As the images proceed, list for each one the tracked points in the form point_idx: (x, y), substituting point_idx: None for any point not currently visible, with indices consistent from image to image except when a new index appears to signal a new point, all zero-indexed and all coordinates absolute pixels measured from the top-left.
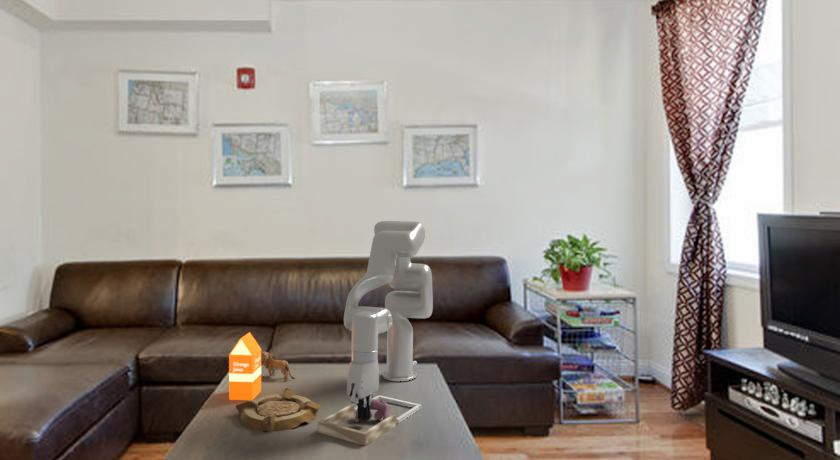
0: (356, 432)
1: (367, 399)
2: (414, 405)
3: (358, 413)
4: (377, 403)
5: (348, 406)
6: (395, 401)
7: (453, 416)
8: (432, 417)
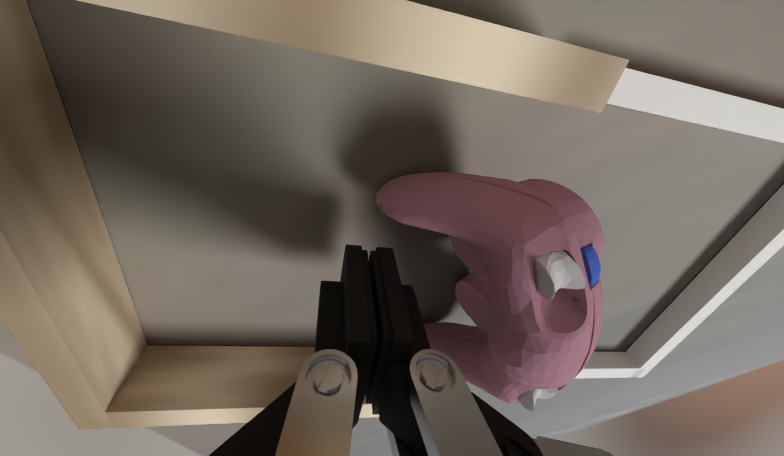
0: (51, 385)
1: (421, 452)
2: (645, 355)
3: (320, 298)
4: (511, 378)
5: (550, 61)
6: (728, 270)
7: (549, 437)
8: (535, 409)
